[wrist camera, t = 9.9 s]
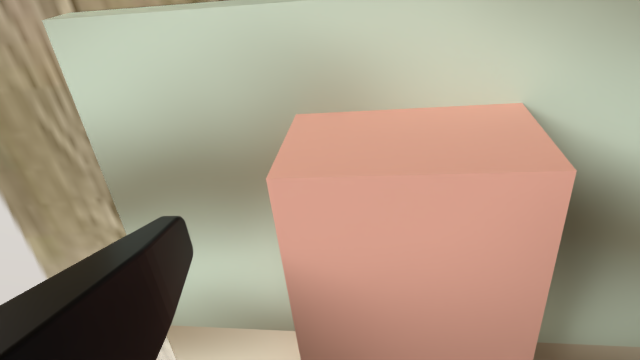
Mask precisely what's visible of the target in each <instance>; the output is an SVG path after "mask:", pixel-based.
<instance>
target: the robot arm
mask: <svg viewBox="0 0 640 360" xmlns="http://www.w3.org/2000/svg"><path fill="white" fill-rule="evenodd" d="M192 258H193V246H192V242H191V239H190V236H189V232H188V229H187V226H186V223H185V220H184V219H183V218H182V217H181V216H161V217H159V218H157V219H156V220H154V221H152V222H150V223H148V224H147V225H145V226H143V227H141V228H139V229H138V230H136V231H134V232H132V233H130V234H128V235H127V236H125V237H123V238H121V239H119V240H118V241H116V242H114V243H112V244H110V245H109V246H107V247H105V248H103V249H101V250H100V251H98V252H96V253H94V254H92V255H91V256H89V257H87V258H85V259H83V260H81V261H80V262H78V263H76V264H74V265H72V266H71V267H69V268H67V269H65V270H63V271H62V272H60V273H58V274H56V275H54V276H53V277H51V278H49V279H47V280H45V281H44V282H42V283H40V284H38V285H36V286H35V287H33V288H31V289H29V290H27V291H25V292H24V293H22V294H20V295H18V296H16V297H15V298H13V299H11V300H9V301H7V302H6V303H4V304H2V305H0V360H156V359H157V356H158V354H159V352H160V349H161V347H162V345H163V343H164V340H165V338H166V336H167V334H168V331H169V329H170V326H171V324H172V321H173V318H174V315H175V313H176V309H177V306H178V303H179V300H180V297H181V294H182V290H183V287H184V284H185V281H186V278H187V275H188V271H189V268H190V265H191V262H192Z"/></svg>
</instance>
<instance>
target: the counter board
mask: <svg viewBox="0 0 640 360" xmlns="http://www.w3.org/2000/svg"><path fill="white" fill-rule="evenodd" d="M42 22H43V24H44V27H45V29H46V32H47V34H48V37H49V39H50V42H51V44H52V47H53V49H54V52H55V54H56V57H57V59H58V62H59V65H60V67H61V70H62V72H63V75H64V77H65V80H66V82H67V85H68V87H69V90H70V92H71V95H72V97H73V100H74V102H75V105H76V108H77V110H78V113H79V115H80V118H81V120H82V123H83V125H84V128H85V130H86V133H87V135H88V138H89V140H90V143H91V145H92V148H93V151H94V153H95V156H96V158H97V161H98V163H99V166H100V168H101V171H102V173H103V176H104V178H105V181H106V183H107V186H108V189H109V191H110V194H111V196H112V199H113V201H114V204H115V206H116V209H117V211H118V214H119V216H120V219H121V221H122V224H123V226H124V229H125V232H126V234H127V235H128V234H130V233H132V232H134V231H136V230H138V229H139V228H141V227H143V226H145V225H147V224H148V223H150V222H152V221H154V220H156V219H157V218H159V217H161V216H181V217H182V218H183V219H184V220H185V223H186V226H187V229H188V232H189V236H190V239H191V242H192V246H193V258H192V262H191V265H190V268H189V271H188V275H187V278H186V281H185V284H184V287H183V290H182V294H181V297H180V300H179V303H178V306H177V309H176V313H175V315H174V318H173V321H172V324H171V326H170V329H169V331H168V334H167V338H168V340H169V343H170V345H171V348H172V350H173V353H174V355H175V358H176V360H301V358H300V353H299V348H298V343H297V337H296V332H295V327H294V322H293V317H292V311H291V306H290V301H289V296H288V291H287V286H286V280H285V275H284V270H283V265H282V260H281V255H280V249H279V244H278V239H277V234H276V229H275V223H274V218H273V213H272V208H271V203H270V198H269V192H268V187H267V182H266V177H267V175H268V173H269V171H270V169H271V167H272V165H273V162H274V160H275V158H276V156H277V154H278V152H279V150H280V147H281V145H282V143H283V141H284V139H285V137H286V135H287V132H288V130H289V128H290V126H291V124H292V122H293V119H294V117H295V115H296V114H311V113H331V112H351V111H371V110H390V109H410V108H430V107H450V106H469V105H489V104H509V103H523V105H524V106H525V107H526V108H527V110H528V111H529V112H530V113H531V115H532V116H533V117H534V118H535V119H536V121H537V122H538V123H539V124H540V126H541V127H542V128H543V129H544V131H545V132H546V133H547V134H548V136H549V137H550V138H551V139H552V141H553V142H554V143H555V144H556V146H557V147H558V148H559V149H560V151H561V152H562V153H563V154H564V156H565V157H566V158H567V159H568V161H569V162H570V163H571V164H572V166H573V167H574V168H575V169H576V170H577V172H576V176H575V180H574V185H573V189H572V193H571V198H570V202H569V206H568V211H567V215H566V219H565V224H564V228H563V232H562V237H561V241H560V245H559V250H558V254H557V258H556V263H555V267H554V271H553V276H552V280H551V284H550V289H549V293H548V297H547V302H546V306H545V310H544V315H543V319H542V323H541V328H540V332H539V336H538V341H537V345H536V349H535V354H534V358H533V360H640V0H230V1H217V2H204V3H191V4H178V5H165V6H152V7H139V8H126V9H113V10H100V11H87V12H74V13H67V14H64V15H60V16H56V17H53V18H49V19H45V20H42Z"/></svg>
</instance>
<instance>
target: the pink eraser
mask: <svg viewBox="0 0 640 360" xmlns="http://www.w3.org/2000/svg"><path fill="white" fill-rule="evenodd" d="M576 172H577V170H576V169H575V168H574V167H573V166H572V164H571V163H570V162H569V161H568V159H567V158H566V157H565V156H564V154H563V153H562V152H561V151H560V149H559V148H558V147H557V146H556V144H555V143H554V142H553V141H552V139H551V138H550V137H549V136H548V134H547V133H546V132H545V131H544V129H543V128H542V127H541V126H540V124H539V123H538V122H537V121H536V119H535V118H534V117H533V116H532V115H531V113H530V112H529V111H528V110H527V108H526V107H525V106H524V105H523V103H509V104H489V105H469V106H450V107H430V108H410V109H390V110H371V111H351V112H331V113H311V114H296V115H295V117H294V119H293V122H292V124H291V126H290V128H289V130H288V132H287V135H286V137H285V139H284V141H283V143H282V145H281V147H280V150H279V152H278V154H277V156H276V158H275V160H274V162H273V165H272V167H271V169H270V171H269V173H268V175H267V177H266V182H267V187H268V192H269V198H270V203H271V208H272V213H273V218H274V223H275V229H276V234H277V239H278V244H279V249H280V255H281V260H282V265H283V270H284V275H285V280H286V286H287V291H288V296H289V301H290V306H291V311H292V317H293V322H294V327H295V332H296V337H297V343H298V348H299V353H300V358H301V360H533V358H534V354H535V349H536V345H537V341H538V336H539V332H540V328H541V323H542V319H543V315H544V310H545V306H546V302H547V297H548V293H549V289H550V284H551V280H552V276H553V271H554V267H555V263H556V258H557V254H558V250H559V245H560V241H561V237H562V232H563V228H564V224H565V219H566V215H567V211H568V206H569V202H570V198H571V193H572V189H573V185H574V180H575V176H576Z"/></svg>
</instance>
